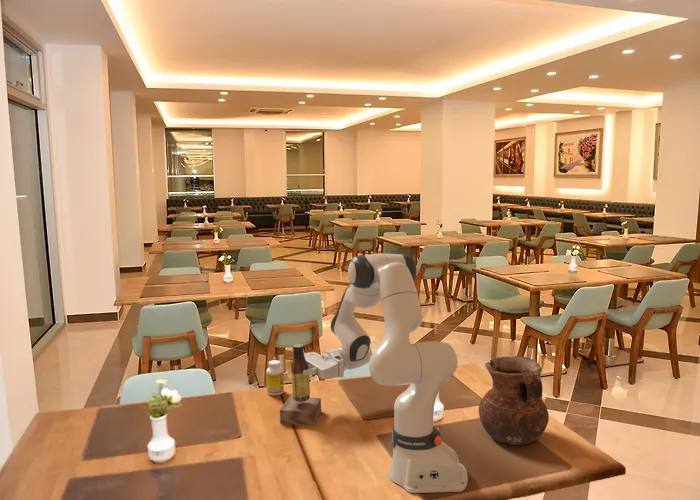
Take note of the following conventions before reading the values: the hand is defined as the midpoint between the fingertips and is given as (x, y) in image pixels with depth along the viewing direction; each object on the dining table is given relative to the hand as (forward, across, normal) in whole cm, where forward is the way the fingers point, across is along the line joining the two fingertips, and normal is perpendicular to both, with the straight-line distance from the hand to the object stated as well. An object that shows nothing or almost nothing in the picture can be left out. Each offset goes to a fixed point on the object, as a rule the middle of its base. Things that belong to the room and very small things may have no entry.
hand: (297, 369), depth 192 cm
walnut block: (-1, 0, +18) cm, 18 cm away
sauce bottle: (-1, 0, +11) cm, 11 cm away
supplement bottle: (-2, -26, +18) cm, 32 cm away
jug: (-52, +52, +18) cm, 76 cm away
